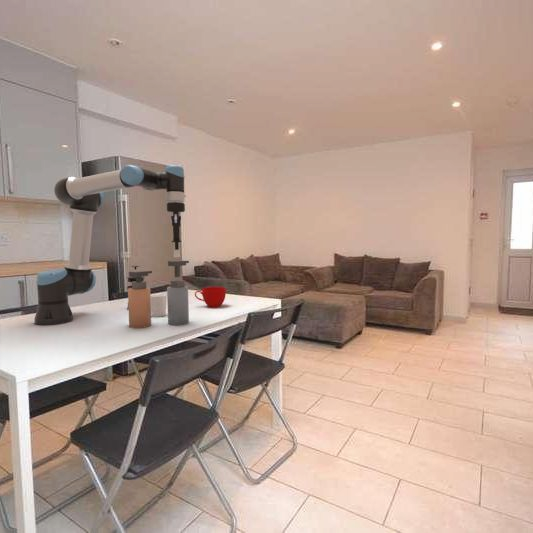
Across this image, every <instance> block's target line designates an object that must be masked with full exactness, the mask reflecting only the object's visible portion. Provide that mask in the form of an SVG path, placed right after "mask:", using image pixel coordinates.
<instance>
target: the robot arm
mask: <svg viewBox="0 0 533 533" xmlns="http://www.w3.org/2000/svg"><path fill="white" fill-rule="evenodd" d="M133 187H140V188H143V190H144V191H151V192H152V191H158V190H166V202H167V203H166V211H167V212H168V213H172V215H171V216H170V220H171V226H172V231H173V232H172V236H173V239H172V240H171V243H173V258H181V242H182V240H181V236H180V233H181V230H180V228H181V220H182V217H181V216H182V215H180V213H184V212H186V211H185V210H186V204H185V201H186V200H185V198H186V197H187V196H186V194H185V171H184V168H183V167H182V165H176V164H174V165H173V164H171V165H166V167H165V171H152V170H150V169H146V168H143V167H140V166H137V165H132V164H126V165H124V166H123V167H122V168H121V169H117V170H113V171H109V172H108V171H107V172H101V173H97V174H92V175H89V176H83V177H76V176H70V177H65V178H62V179H60V180H58V181H56V183H55V185H54V187H53V189H54V190H53V192H54V195H55V197H56V198H57V200H58V201H59V202H61V203H62V204H64V205H67V206H69V210H70V211H71V212H72V224H71V235H70V245H69V256H68V257H69V258H68V263H66V264H65V265H64V268H54V269H45V270H43V271H41V272H38V273H37V276H36V287H37V303H38V305H37V308H36V312H35V315H34V325H38V326H49V325H60V324H65V323H68V322H69V323H70V322H71V321H74V314H73V311H72V310H71V307H70V304H69V297H70V296H75V295H81V294H84V293H88V292H90V291H91V290H93V289H94V287H95V285H96V283H97V277H96V275H95V272H94V271H93V270H92V269H93V268H92V266H91V265H90V254H91V253H90V251H91V244H92V232H93V222H94V215H95V214H97V213H98V208H100V207H102V205H103V203H104V199H105V197H104V196H105V195H104V193H107V192H112V191H117V190H122V189H127V188H133Z"/></svg>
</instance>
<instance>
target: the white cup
mask: <svg viewBox="0 0 533 533" xmlns="http://www.w3.org/2000/svg"><path fill="white" fill-rule="evenodd" d="M150 298H151V317H155V318H158V317H164V316H166V314H167V294H166V293H165V294H164V293H155V294H150Z"/></svg>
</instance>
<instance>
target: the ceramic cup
mask: <svg viewBox="0 0 533 533" xmlns="http://www.w3.org/2000/svg"><path fill="white" fill-rule="evenodd" d="M226 292H227V288H226V287H222V286H221V287H220V286H208V287H202V290H196V291H195V293H194V296H195V298H196V299H197V300H199V301H202V302H204V303H205V305H206V306H207V307H208V308H220V307H221V306H222V304H223V303H224V301H225V299H226V294H227V293H226ZM197 293H200V294H201V295H202V298H199V297H198V296H197Z"/></svg>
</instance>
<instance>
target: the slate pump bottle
mask: <svg viewBox="0 0 533 533" xmlns="http://www.w3.org/2000/svg"><path fill="white" fill-rule="evenodd" d="M185 283H186V282H185V279H172V280H170V286H167V287H166V293H167V294H166V305H167V324H168V325H170V326H185V325H188V324H189V323H190V321H189V320H190V318H189V314H190V313H189V312H190V311H189V309H190V308H189V286H187V285H186V284H185Z"/></svg>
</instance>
